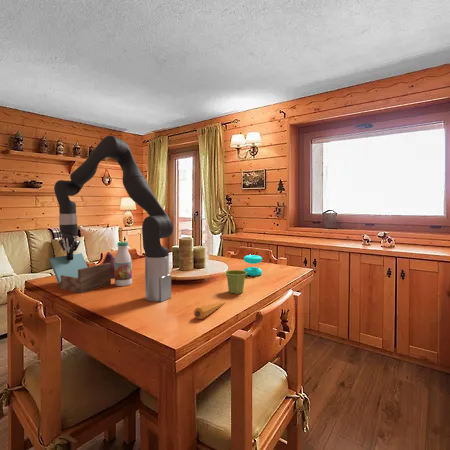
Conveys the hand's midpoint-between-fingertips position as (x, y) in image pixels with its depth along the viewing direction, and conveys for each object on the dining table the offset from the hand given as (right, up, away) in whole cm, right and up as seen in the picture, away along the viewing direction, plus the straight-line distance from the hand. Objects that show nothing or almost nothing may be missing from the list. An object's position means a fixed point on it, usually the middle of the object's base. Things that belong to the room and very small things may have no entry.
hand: (70, 260), depth 143 cm
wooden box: (+9, -12, -4) cm, 15 cm away
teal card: (+2, -9, -1) cm, 9 cm away
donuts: (+88, -11, +21) cm, 91 cm away
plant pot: (+78, -13, -11) cm, 80 cm away
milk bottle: (+25, -12, 0) cm, 28 cm away
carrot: (+69, -14, -35) cm, 79 cm away
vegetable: (+14, -11, +15) cm, 23 cm away
